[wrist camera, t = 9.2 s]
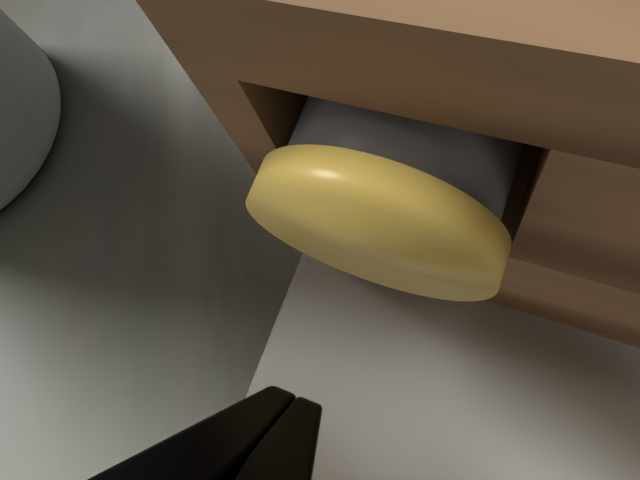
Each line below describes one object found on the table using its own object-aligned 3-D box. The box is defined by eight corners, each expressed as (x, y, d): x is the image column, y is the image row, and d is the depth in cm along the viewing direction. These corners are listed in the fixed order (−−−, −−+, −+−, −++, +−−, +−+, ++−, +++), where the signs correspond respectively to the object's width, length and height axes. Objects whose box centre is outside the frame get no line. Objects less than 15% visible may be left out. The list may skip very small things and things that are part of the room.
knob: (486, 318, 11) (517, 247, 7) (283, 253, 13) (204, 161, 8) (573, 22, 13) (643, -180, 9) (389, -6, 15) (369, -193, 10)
